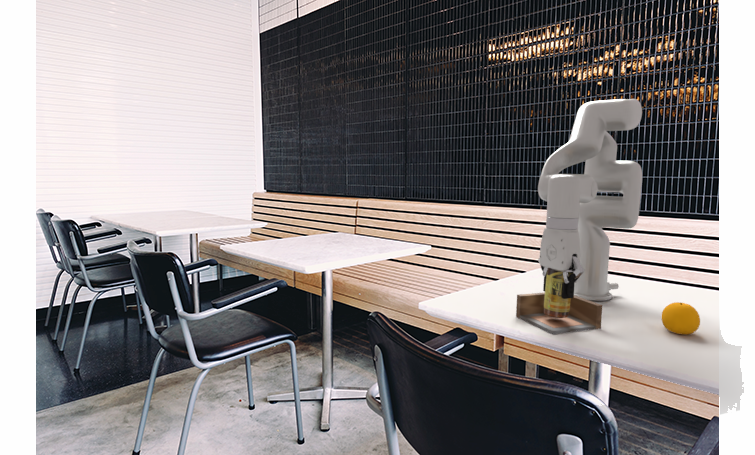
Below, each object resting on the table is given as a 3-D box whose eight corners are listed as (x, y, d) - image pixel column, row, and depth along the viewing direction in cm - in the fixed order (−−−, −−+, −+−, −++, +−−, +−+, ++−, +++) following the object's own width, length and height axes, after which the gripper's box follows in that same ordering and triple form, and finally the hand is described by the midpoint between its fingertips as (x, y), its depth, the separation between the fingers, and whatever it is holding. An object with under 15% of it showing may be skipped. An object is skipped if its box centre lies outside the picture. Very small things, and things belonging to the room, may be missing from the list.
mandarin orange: (707, 336, 112) (710, 306, 111) (679, 338, 111) (682, 307, 110) (679, 326, 120) (681, 297, 119) (652, 327, 118) (655, 298, 118)
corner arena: (560, 312, 131) (562, 290, 130) (600, 328, 117) (602, 305, 117) (516, 316, 126) (517, 294, 126) (552, 334, 113) (553, 310, 112)
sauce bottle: (549, 319, 117) (554, 240, 115) (539, 312, 123) (543, 236, 121) (575, 319, 118) (579, 240, 115) (563, 311, 124) (567, 236, 122)
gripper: (528, 221, 125) (524, 287, 127) (574, 228, 108) (569, 305, 110) (551, 220, 127) (547, 285, 129) (600, 228, 111) (595, 302, 113)
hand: (558, 294), depth 120 cm, fingers closed on sauce bottle, 6 cm apart
